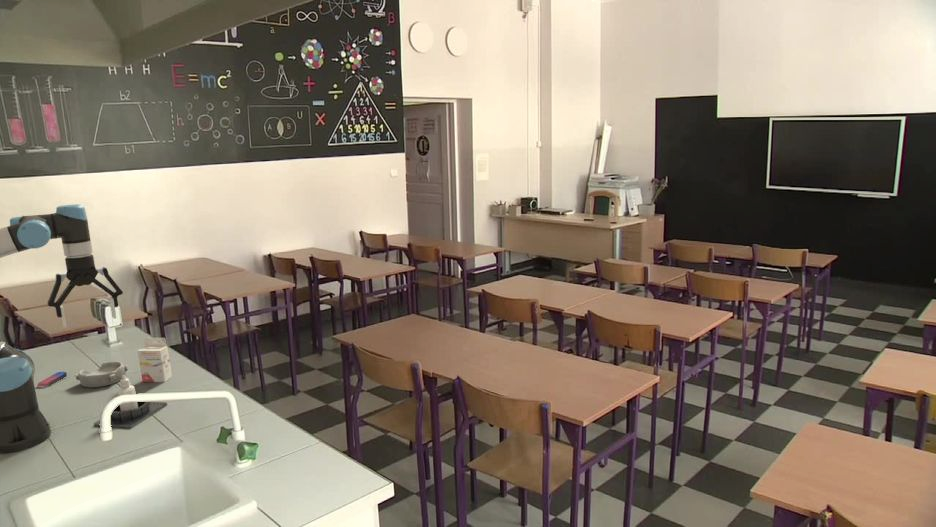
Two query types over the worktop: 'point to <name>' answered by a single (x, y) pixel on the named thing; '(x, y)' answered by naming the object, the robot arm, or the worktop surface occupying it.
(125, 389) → the eye dropper bottle
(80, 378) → the dish
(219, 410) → the worktop surface
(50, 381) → the eraser
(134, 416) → the black ribbed ring plate
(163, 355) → the ink cartridge box
